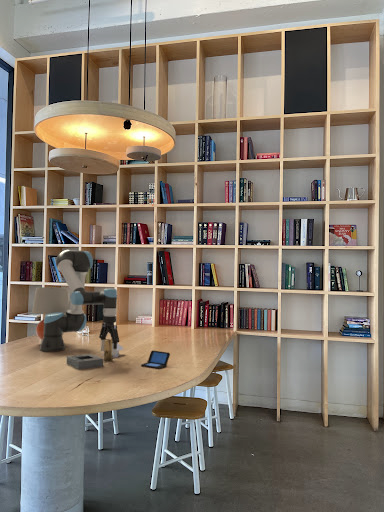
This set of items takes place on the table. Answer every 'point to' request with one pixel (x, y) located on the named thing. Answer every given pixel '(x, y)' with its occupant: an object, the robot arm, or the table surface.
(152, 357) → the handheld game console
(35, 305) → the lamp
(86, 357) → the jig block
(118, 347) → the wedge on round base
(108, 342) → the golden brown cylinder
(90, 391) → the table surface
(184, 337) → the table surface
